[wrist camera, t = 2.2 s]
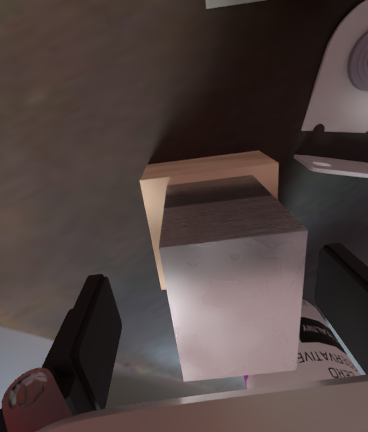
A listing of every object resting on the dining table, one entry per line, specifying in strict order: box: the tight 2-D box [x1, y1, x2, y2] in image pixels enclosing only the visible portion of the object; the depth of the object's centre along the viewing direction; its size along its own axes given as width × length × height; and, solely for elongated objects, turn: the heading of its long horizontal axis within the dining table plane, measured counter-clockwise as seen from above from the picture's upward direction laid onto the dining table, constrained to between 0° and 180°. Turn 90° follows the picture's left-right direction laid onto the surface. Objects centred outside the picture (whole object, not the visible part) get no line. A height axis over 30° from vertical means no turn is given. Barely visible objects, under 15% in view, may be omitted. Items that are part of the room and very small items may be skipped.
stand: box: [140, 150, 279, 290], centre depth 18 cm, size 8×8×4 cm
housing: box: [159, 175, 308, 382], centre depth 13 cm, size 7×5×7 cm
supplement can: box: [244, 299, 360, 389], centre depth 18 cm, size 8×8×15 cm
